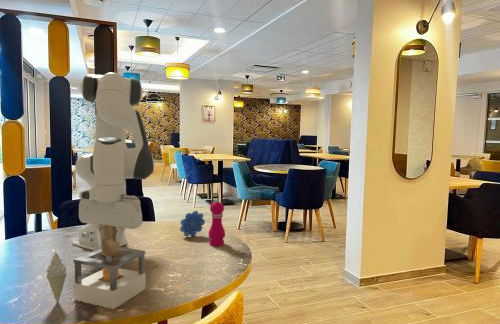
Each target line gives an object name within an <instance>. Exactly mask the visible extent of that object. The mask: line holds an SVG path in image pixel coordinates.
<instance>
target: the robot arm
mask: <svg viewBox="0 0 500 324" xmlns="http://www.w3.org/2000/svg"><path fill="white" fill-rule="evenodd" d="M143 92H144V91H143V87H142V83H141V82H140V81H139V80H138V79H135V78H132V77H131V78H128V77H124V76H123V75H122V74H120V73H117V72H107V73H104V74H103V75H102V74H95V73H90V74H86V75H85V76H83V79H82V81H81V82H80V93H81V95H82V98H83V99H84V100H85V101H86V102H89V103H93V104H94V103H95V110H96V112H95V113H96V115H95V134H94V136H95V138H96V139H95V141H94V145H93V153H89V154H84V155H81V156H79V157H78V159H76V162H75V165H74V166H75V167H74V168H75V169H74V170H75V172H76V174H77V176H78V177H79V178H80V179H81V180H83V181H84V182H85V183H87V185H88V186H89V187H90V188H89V189H85V190H82V191H80V192H79V193H78V197H79V199H80V200H79V204H78V218H79V220H80V222H81V223H82V224H85V225H84V226H82V227H81V228H80V230H79V232H78V238H77V239H75V240H73V241H72V245H73V246H77V247H81V248H84V249H88V250H91V251H95V250H98V249H100V248H102V233H101V225H110V226H114V227H116V230H118V232H117V234H116V235H114V241H116V242H119V241H120V247H123V246H125V245H127V243H128V241H127V237H126V232H125V230H126V229H132V230H133V229H134V230H135V229H137V228H140V227H141V226H142V224H143V214H142V207H141V200H140V199H139V198H138V197H137V196H136V195H133V194H132V195H130V194H127V191H126V190H127V183H126V182H127V181H126V180H127V179H133V180H146V179H148V178H149V177H150V176H151V175H152V174H153V173H154V171H155V158H154V156H153V152H152V151H151V147H150V145H149V140H148V137H147V134H146V129H145V125H144V123H143V122H144V121H143V118H142V116H141V114H140V112H139V111H138V110H137V109H135V108H134V106H136V105H138V104H139V103H140V102H141V100H142V98H143ZM125 130H127V131H129V132H130V133H131V134H132V137H133V141H134V145H135V147H129V148H128V146H127V144H126V141H125V140H126V139H125Z"/></svg>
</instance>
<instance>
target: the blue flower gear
mask: <svg viewBox="0 0 500 324" xmlns="http://www.w3.org/2000/svg"><path fill="white" fill-rule="evenodd" d="M184 217H185V218H183V219H181V221H180V225H181V226H180V228H179V230H180V232H181V233H183V236H184V237H189V236H191V237H195V236H196V235H197V233H200V232H201V231H203V227H202V226H204V225H205V224H206V223H205V219H204V214H203V213H202V212H200V213H199V212H198V210H193V211H192V213H191V212H188V213H186V214H185V216H184Z"/></svg>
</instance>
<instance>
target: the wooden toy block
mask: <svg viewBox="0 0 500 324" xmlns="http://www.w3.org/2000/svg"><path fill="white" fill-rule="evenodd" d="M117 232H118V230H116V227H114V226H110V225H101V233H102V255H101V256H105V257H106V256H112V257H113V256H116V255H119V254H121V253H120V247H121V246H120V241H119V242H116V241H114V235H116V234H117Z"/></svg>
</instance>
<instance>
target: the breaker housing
mask: <svg viewBox="0 0 500 324" xmlns="http://www.w3.org/2000/svg"><path fill="white" fill-rule="evenodd" d="M145 290H146V272H144V274H139V271H135V270H130V269H125V268H124V269H123V268H120V267H119V279H118V280H117V289H116V290H115V291H111V290H110V282H105V281H103V269H101V270H99V271H97V272H95V273H92V274H90V275H88V276H86V277H84V278H82V282H81V283H79V284H77V283H75V282H74V283H73V298H74V299H75V300H74V299H73V300H74V301H76V300H78V302H80V301H82V302H81V303H84V304H89V303H90V305H95V306H98V305H99V307H102V306H103V308H106V309H111V310H116V309H117V308H118V307H119V306H121V305H123V304H125V303H126V302H127V301H129V300H130V299H132V298H134V297H135V296H136V295H138V294H140V293H141V292H143V291H145Z"/></svg>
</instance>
